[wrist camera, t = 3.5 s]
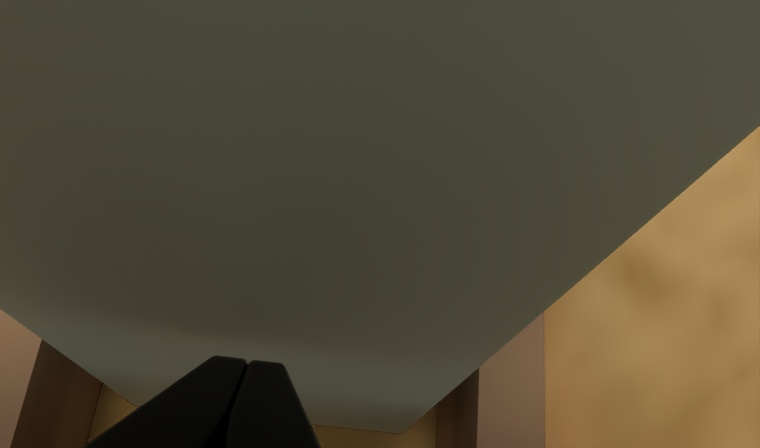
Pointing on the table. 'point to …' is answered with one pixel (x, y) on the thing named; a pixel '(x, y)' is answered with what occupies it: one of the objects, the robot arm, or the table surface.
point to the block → (342, 177)
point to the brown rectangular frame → (81, 389)
